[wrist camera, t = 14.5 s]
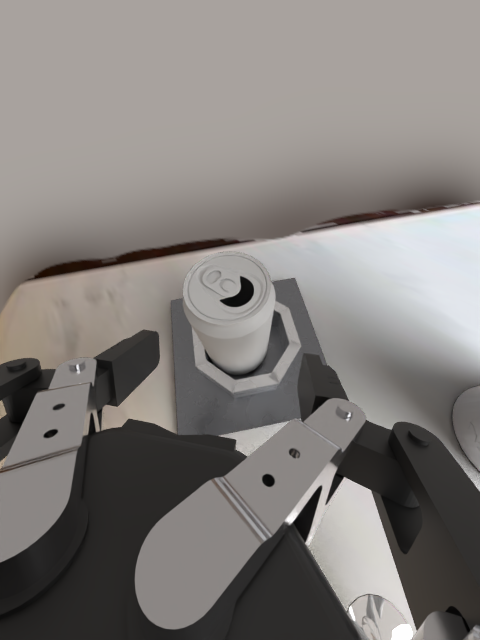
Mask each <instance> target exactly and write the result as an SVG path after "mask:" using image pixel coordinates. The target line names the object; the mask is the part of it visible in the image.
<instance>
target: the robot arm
mask: <svg viewBox="0 0 480 640" xmlns="http://www.w3.org/2000/svg"><path fill="white" fill-rule="evenodd" d="M159 359H160V351H159V334H158V332H156V331H149V330H142V331H140V332H139V333H137V334H135V335H134V336H132V337H130V338H127V339H124V340H122V341H121V342H119V343H117V344H116V345H114V346H112V347H111V348H110V349H108V350H106V351H104V352H103V353H101V354H99V355H98V356H96V357H94V358H88V357H83V358H76V359H72V360H68V361H66V362H64V363H62V364H60V365H59V366H58V367H57V369H44V370H41V366H40V361H39V360H38V359H34V358H23V359H17V360H13V361H9V362H6V363H4V364H1V365H0V401H1V400H2V401H3V404H4V407H5V410H6V413H7V415H6V416H4V417H3V418H1V419H0V461H1V460H2V459H4V458H5V457H6V456H7V455H8V456H7V458H6V460H5V463H4V465H3V467H2V468H1V469H0V640H363V639H362V637H361V636H360V634H359V632H358V631H357V629H356V627H355V626H354V624H353V622H352V621H351V619H350V617H349V616H348V614H347V612H346V611H345V609H344V607H343V606H342V604H341V602H340V601H339V599H338V597H337V596H336V594H335V592H334V591H333V589H332V587H331V586H330V584H329V582H328V581H327V579H326V577H325V575H324V574H323V572H322V570H321V569H320V567H319V565H318V564H317V562H316V560H315V559H314V557H313V555H312V554H311V552H310V550H309V549H308V546H309V544H310V542H311V540H312V539H313V537H314V535H315V533H316V531H317V529H318V526H319V524H320V522H321V520H322V518H323V516H324V514H325V512H326V511H327V509H328V507H329V506H330V504H331V502H332V501H333V499H334V498H335V496H336V494H337V493H338V491H339V490H340V488H341V486H342V485H343V483H344V481H345V480H346V478H348V479H350V480H352V481H354V482H356V483H358V484H360V485H362V486H364V487H366V488H368V489H370V490H371V491H372V494H373V497H374V500H375V503H376V506H377V509H378V513H379V516H380V519H381V522H382V525H383V528H384V531H385V534H386V537H387V540H388V543H389V546H390V549H391V553H392V556H393V559H394V562H395V565H396V568H397V571H398V574H399V577H400V580H401V583H402V586H403V590H404V593H405V596H406V599H407V602H408V605H409V608H410V611H411V614H412V617H413V620H414V623H415V627H416V630H417V632H416V634H415V635H414V636H413V638H412V639H411V640H480V491H479V490H478V489H477V488H476V486H475V485H474V484H473V482H472V481H471V480H470V478H469V477H468V476H467V474H466V473H465V472H464V471H463V469H462V468H461V467H460V465H459V464H458V463H457V461H456V460H455V459H454V457H453V456H452V455H451V454H450V452H449V451H448V450H447V448H446V447H445V446H444V444H443V443H442V442H441V441H440V440H439V439H438V438H437V437H436V436H435V435H433V434H432V433H431V432H429V431H427V430H426V429H424V428H422V427H420V426H418V425H415V424H412V423H408V422H397V423H395V424H394V426H393V428H392V430H389V429H386V428H384V427H381V426H378V425H376V424H373V423H371V422H369V421H367V420H366V416H365V413H364V412H363V411H362V410H361V409H360V408H359V407H358V406H357V405H355V404H354V403H352V402H350V401H349V400H348V398H347V396H346V393H345V391H344V389H343V387H342V385H341V383H340V380H339V378H338V376H337V374H336V372H335V371H334V370H333V369H332V368H331V367H330V366H327V365H323V364H322V362H321V359H320V356H319V355H317V354H309V353H303V356H302V361H301V366H300V372H299V377H298V384H297V392H298V399H299V406H300V414H301V420H299V419H298V418H294V419H293V420H291V421H290V422H289V423H288V424H287V425H285V426H284V427H283V428H282V429H281V430H279V431H278V432H277V433H276V434H275V435H273V436H272V437H271V438H270V439H269V440H267V441H266V442H265V443H264V444H263V445H262V446H260V447H259V448H258V449H257V450H256V451H254V452H253V453H252V454H251V455H250V456H248V457H247V456H246V455H244V454H243V453H241V452H239V451H237V450H236V440H235V439H230V438H225V437H219V436H214V435H209V434H204V435H177V434H174V433H172V432H170V431H168V430H166V429H164V428H162V427H160V426H158V425H156V424H153V423H148V422H143V421H138V420H133V419H128V420H127V421H126V423H125V424H124V425H123V426H122V427H118V428H110V429H106V430H103V425H104V409H103V407H104V406H105V405H111V406H117V407H118V406H119V405H120V404H121V403H122V402H123V401H124V400H125V399H126V398H127V397H128V396H129V395H130V394H131V393H132V392H133V391H134V390H135V389H136V388H137V387H138V386H139V384H140V383H141V382H142V381H143V380H144V379H145V378H146V377H147V376H148V375H149V374H150V373H151V372H152V371H153V370H154V369H155V368H156V367H157V366H158V363H159ZM452 415H453V426H454V430H455V434H456V437H457V439H458V441H459V443H460V446H461V448H462V449H463V451H464V452H465V454H466V455H467V457H468V458H469V460H470V461H471V462H472V463H473V464H474V465H475V467H476V468H477V469H478V470H479V471H480V386H476V387H472V388H470V389H468V390H466V391H464V392H463V393H462V394H461V395H460V396H459V397H458V398H457V400H456V402H455V404H454V408H453V413H452Z"/></svg>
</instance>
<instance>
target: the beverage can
mask: <svg viewBox="0 0 480 640" xmlns="http://www.w3.org/2000/svg"><path fill="white" fill-rule="evenodd" d="M274 306H275V289H274V286H273V284H272V281H271V280H270V276H269V274H268V272H267V270H266V268H265V267H264V266H263V265H262V263H260V262H259V261H258V260H257V259H255V258H253V257H252V256H249V255H247V254H244V253H240V252H220V253H216V254H212V255H210V256H207V257H205V258H204V259H202V260H200V261H199V262H198V263H196V264H195V265H194V266H193V267H192V268H191V270H190V271H189V272H188V274H187V276H186V278H185V281H184V285H183V309H184V312H185V315H186V317H187V319H188V321H189V322H190V324H191V326H192V327H193V329H194V331H195V333H196V334H197V336H198V338H199V339H200V341H201V343H202V345H203V346H204V348H205V350H206V351H207V353H208V355H209V357H210V358H211V360H212V362H213V363H214V364H215V366H216V367H218V368H219V369H220V370H222V371H223V372H226V373H228V374H233V375H241V374H246V373H249V372H251V371H253V370H255V369H256V368H257V367H258V366H259V365H260V364H261V363H262V362H263V360H264V358H265V356H266V353H267V348H268V342H269V336H270V330H271V324H272V318H273V312H274Z"/></svg>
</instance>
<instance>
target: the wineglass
mask: <svg viewBox="0 0 480 640" xmlns="http://www.w3.org/2000/svg"><path fill="white" fill-rule="evenodd" d="M347 614H348V616H349V617H350V619H351V621H352V622H353V624H354V626H355V627H356V629H357V631H358V632H359V634H360V636H361V637H362V639H363V640H411V639H412V638H413V633H412V631H411V628H410V626H409V625H408V623H407V621H406V620H405V618H404V617H403V615H402V613H401V612H400V611H399V610H398V609H397V608H396V607H395V606H394V605H393V604H392V603H391V602H389V601H387V600H386V599H384V598H382V597H380V596H375V595H365V596H362V597H359V598H358V599H357V600H356V601H355V602H354V603H353V604H352V605H351V606H350V608H349V610H348V612H347Z"/></svg>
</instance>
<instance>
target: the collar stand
mask: <svg viewBox="0 0 480 640" xmlns="http://www.w3.org/2000/svg"><path fill="white" fill-rule="evenodd" d="M272 284H273V286H274V289H275V306H274V312H273V318H272V324H271V330H270V336H269V342H268V348H267V353H266V356H265V358H264V360H263V362H262V363H261V364H260V365H259V366H258V367H257V368H256V369H255V370H253V371H251V372H249V373H246V374H241V375H233V374H228V373H226V372H223V371H222V370H220V369H219V368H218V367H216V366H215V364H214V363H213V362H212V360H211V358H210V357H209V355H208V353H207V351H206V350H205V348H204V346H203V345H202V343H201V341H200V339H199V338H198V336H197V334H196V333H195V331H194V329H193V327H192V326H191V324H190V322H189V321H188V319H187V317H186V315H185V312H184V309H183V298H182V299H177V300H171V313H172V332H173V351H174V370H175V389H176V408H177V426H178V435H204V434H209V435H214V436H219V435H223V434H228V433H233V432H238V431H243V430H247V429H252V428H257V427H262V426H267V425H271V424H276V423H281V422H286V421H291V420H293V419H294V418H298V419H300V418H301V414H300V406H299V399H298V392H297V384H298V377H299V372H300V366H301V361H302V356H303V353H309V354H317V355H319V356H320V359H321V362H322V364H323V365H327V364H326V361H325V358H324V356H323V353H322V350H321V347H320V345H319V342H318V339H317V337H316V334H315V331H314V328H313V326H312V323H311V320H310V318H309V315H308V312H307V310H306V307H305V304H304V301H303V299H302V296H301V293H300V291H299V288H298V285H297V282H296V280H295V278H291V279H285V280H280V281H275V282H272Z"/></svg>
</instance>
